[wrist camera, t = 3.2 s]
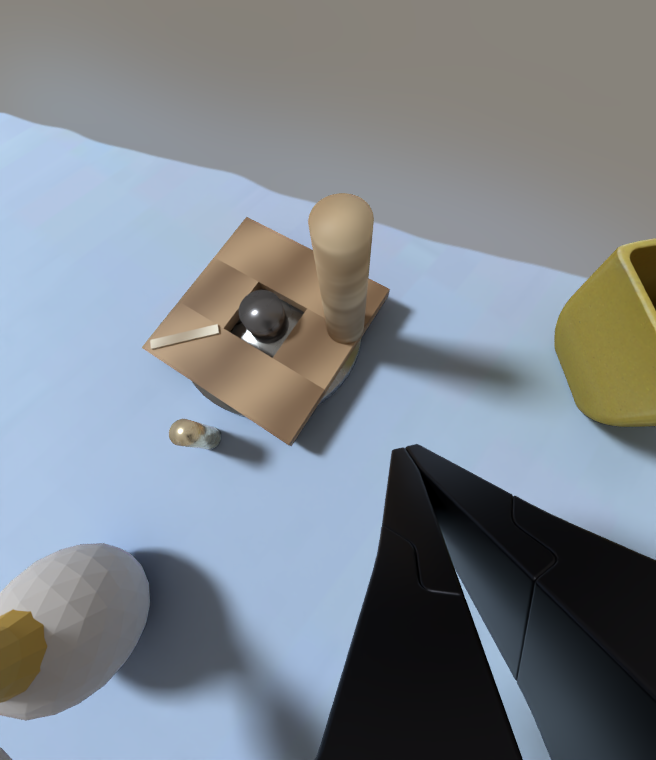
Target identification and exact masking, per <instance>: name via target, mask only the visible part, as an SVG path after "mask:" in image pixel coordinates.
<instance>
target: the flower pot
mask: <svg viewBox="0 0 656 760" xmlns="http://www.w3.org/2000/svg"><path fill="white" fill-rule="evenodd" d="M555 351H556V353H557V356H558V358H559V361H560V364H561V366H562V369H563V371H564V374H565V376H566V379H567V382H568V384H569V387H570V390H571V392H572V395H573V398H574V401H575V403H576V406H577V407H578V408H579V410H580V411H581V412H583V413H584V414H585V415H586V416H588V417H589V418H591V419H593V420H595V421H597V422H600V423H603V424H607V425H611V426H620V427H644V426H656V238H655V239H648V240H642V241H638V242H633V243H629V244H626V245H623V246H620V247H618V248H617V249H616V250H615V251H614V252H613V253H612V254H611V256H610V257H609V258H608V259H607V260H606V261H605V262H604V263H603V264H602V265H601V266H600V267H599V268H598V269H597V270H596V271H595V272H594V273H593V274H592V276H590V278H589V279H588V280H587V281H586V282H585V283H584V284H583V285H582V286H581V287H580V288H579V289H578V290H577V291H576V292H575V294H574V295H573V296H572V297H571V298H570V299H569V300H568V302H567V303H566V304H565V306H564V308H563V309H562V311H561V313H560V315H559V318H558V320H557V324H556V328H555Z"/></svg>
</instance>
